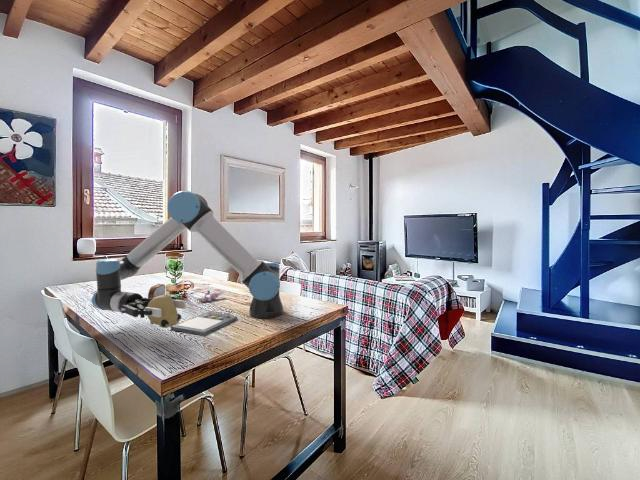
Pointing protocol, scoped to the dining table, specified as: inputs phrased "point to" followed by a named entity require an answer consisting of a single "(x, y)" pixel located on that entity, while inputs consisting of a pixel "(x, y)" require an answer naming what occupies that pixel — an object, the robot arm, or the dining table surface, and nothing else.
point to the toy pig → (164, 311)
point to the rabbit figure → (212, 296)
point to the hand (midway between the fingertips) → (173, 308)
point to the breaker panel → (205, 322)
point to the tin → (156, 290)
